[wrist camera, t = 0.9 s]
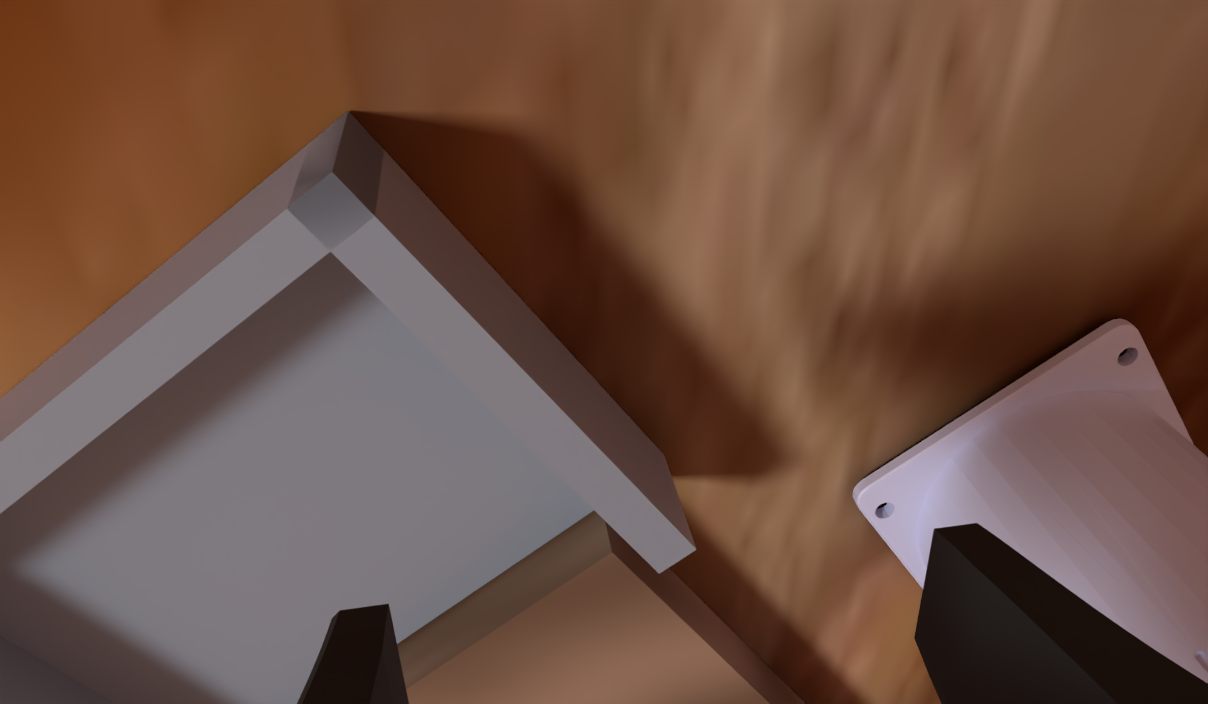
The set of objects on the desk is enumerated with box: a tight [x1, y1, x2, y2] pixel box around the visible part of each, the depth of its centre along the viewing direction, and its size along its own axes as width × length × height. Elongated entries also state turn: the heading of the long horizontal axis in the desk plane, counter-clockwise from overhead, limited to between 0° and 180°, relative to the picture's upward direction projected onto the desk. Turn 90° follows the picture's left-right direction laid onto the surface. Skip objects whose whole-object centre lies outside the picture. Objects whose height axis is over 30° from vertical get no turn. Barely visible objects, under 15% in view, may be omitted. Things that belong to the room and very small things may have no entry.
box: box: [0, 111, 697, 704], centre depth 22 cm, size 11×16×4 cm
